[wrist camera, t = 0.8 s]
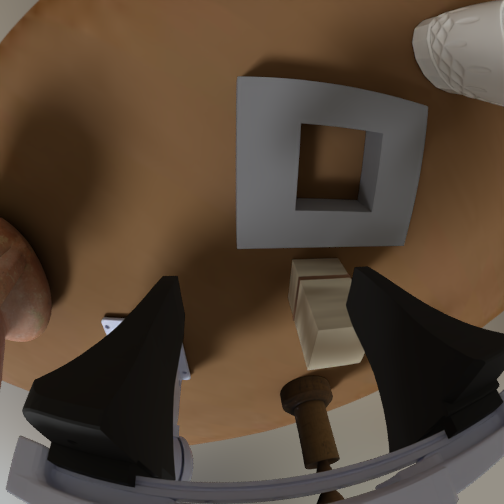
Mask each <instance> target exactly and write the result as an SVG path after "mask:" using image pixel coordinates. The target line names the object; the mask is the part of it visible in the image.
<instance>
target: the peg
mask: <svg viewBox="0 0 504 504" xmlns="http://www.w3.org/2000/svg"><path fill="white" fill-rule="evenodd" d="M351 281H352V280H351V276H350V275H349V274H348V273H347V271H346V270H345V268H344V267H343V265H342V263H341V262H340V260H339V259H338V258H325V259H292V267H291V276H290V285H289V293H288V300H289V304H290V307H291V311H292V314H293V321H295V325H296V329H297V332H298V336H299V339H300V343H301V347H302V351H303V354H304V358H305V362H306V365H307V369H308V370H314V369H322V368H329V367H336V366H343V365H349V364H355V363H360V362H361V360H362V358H363V355H364V353H365V352H364V350H363V347H362V345H361V343H360V341H359V339H358V337H357V335H356V333H355V330H354V328H353V326H352V323H351V320H350V317H349V314H348V311H347V308H346V302H347V298H348V294H349V290H350V286H351Z"/></svg>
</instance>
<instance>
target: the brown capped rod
mask: <svg viewBox="0 0 504 504" xmlns="http://www.w3.org/2000/svg"><path fill="white" fill-rule="evenodd" d="M280 397H281V402H282V407H283V409H284V411H285V412H287V413H289V414H291V415H293V416H295V419H296V424H297V428H298V433H299V438H300V443H301V448H302V454H303V459H304V465H305V468H306V469H316V468H317V472H316V473H319V472H324V471H329V470H332V468H331V467H330V464H333V463H335V462H337V461H338V460H339V459H340V458H339V455H338V451H337V447H336V444H335V441H334V437H333V433H332V430H331V426H330V422H329V419H328V415H327V411H326V407H327V406H328V404H329V403H330V402H331V400H332V398H333V395H332V392H331V389H330V385H329V382H328V381H327V380H326V379H325V378H323V377H320V376H307V377H302V378H299V379H296V380H294V381H291V382H289V383H288V384H286V385H285V386H284V387H283V388H282V390H281V392H280ZM343 499H344V498H343V496H342V495H341V494H340V493H339V492H337V491H336V490H333V491H329V492H324V493H321V494H320V496H319V499H318V502H317V504H328V503H332V502H336V501H339V500H343Z"/></svg>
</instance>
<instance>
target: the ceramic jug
mask: <svg viewBox="0 0 504 504" xmlns="http://www.w3.org/2000/svg"><path fill="white" fill-rule="evenodd" d="M51 309H52V300H51V292H50V288H49V284H48V281H47V278H46V275H45V272H44V270H43V268H42V265H41V263H40V261H39V259H38V257H37V256H36V254H35V252H34V250H33V249H32V247H31V246H30V244H29V243H28V241H27V240H26V239H25V238H24V237H23V236H22V235H21V233H20V232H19V231H18V230H17V229H16V228H15V227H13V226H12V225H11V224H10V223H9V222H7V221H6V220H4V219H3V218H1V217H0V387H1V381H2V369H3V360H4V349H5V339H8V340H12V341H19V342H24V341H30V340H33V339H35V338H37V337H38V336H39V335H41V334H42V333H43V332H44V330H45V329H46V327H47V325H48V323H49V320H50V316H51Z"/></svg>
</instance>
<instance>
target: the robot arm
mask: <svg viewBox="0 0 504 504" xmlns="http://www.w3.org/2000/svg"><path fill="white" fill-rule="evenodd" d="M346 308H347V311H348V314H349V317H350V320H351V323H352V326H353V328H354V330H355V333H356V335H357V337H358V339H359V341H360V343H361V345H362V347H363V350H364V352H365V354H366V356H367V358H368V360H369V362H370V365H371V367H372V370H373V372H374V375H375V379H376V382H377V385H378V389H379V392H380V396H381V401H382V404H383V409H384V414H385V420H386V425H387V433H388V441H389V454H386V455H383V456H380V457H377V458H374V459H370V460H367V461H364V462H360V463H357V464H353V465H349V466H346V467H342V468H337V469H333V470H329V471H324V472H319V473H314V474H309V475H303V476H296V477H290V478H282V479H273V480H263V481H250V482H219V483H218V482H190V481H191V477H192V472H193V455H192V451H191V449H190V447H189V444H188V442H187V441H186V439H185V438H183V437H181V436H179V425H177V422H178V415H179V403H180V393H181V382H182V380H189V379H190V376H191V375H190V371H189V367H188V363H187V359H186V355H185V351H184V347H183V337H184V322H185V313H184V308H183V303H182V297H181V292H180V287H179V281H178V276H163V277H162V278H161V279H160V280H159V281H158V282H157V283H156V285H155V286H154V287H153V288H152V289H151V290H150V292H149V293H148V294H147V295H146V296H145V297H144V299H143V300H142V301H141V302H140V303H139V304H138V305H137V306H136V308H135V309H134V310H133V311H132V312H131V313H130V314H129V315H128V316H127V317H126V318H109V317H104V318H103V319H102V321H101V322H102V325H103V327H104V330H105V332H106V334H107V336H106V337H104V338H103V339H102V340H101V341H99V342H98V343H97V344H95V345H94V346H93V347H91V348H90V349H89V350H87V351H86V352H84V353H83V354H82V355H80V356H79V357H77V358H75V359H74V360H72V361H71V362H69V363H67V364H65V365H64V366H62V367H60V368H58V369H56V370H54V371H52V372H50V373H48V374H46V375H44V376H42V377H40V378H38V379H35V380H34V382H33V385H32V387H31V389H30V392H29V394H28V397H27V399H26V402H25V404H24V407H23V410H22V411H23V415H24V417H25V418H26V420H27V421H28V422H29V423H30V424H31V425H32V426H33V427H34V428H36V429H37V430H38V431H39V432H40V433H42V435H44V436H45V437H46V438H47V439H49V440H50V441H51V446H50V449H49V448H48V447H46V446H44V445H42V444H40V443H37V442H35V441H33V440H30V439H28V438H25V437H23V436H19V438H18V442H17V445H16V449H15V452H14V456H13V459H12V463H11V467H10V472H9V476H8V481H7V486H6V490H7V492H9V493H10V494H12V495H14V496H15V497H17V498H19V499H21V500H22V501H24V502H26V503H27V504H191V503H214V504H215V503H216V504H228V503H253V502H265V501H275V500H283V499H291V498H298V497H303V496H309V495H315V494H320V493H324V492H329V491H333V490H337V489H341V488H345V487H348V486H352V485H356V484H359V483H362V482H366V481H368V480H372V479H375V478H378V477H381V476H384V475H386V474H389V473H392V472H394V471H397V470H400V469H402V468H404V467H407V466H409V465H412V464H414V463H416V462H417V463H416V464H414V465H412V466H410V467H408V468H406V469H404V470H402V471H400V472H398V473H397V474H396V475H395V476H393V477H392V478H390V479H389V480H387V481H385V482H383V483H381V484H379V485H377V486H376V488H375V489H376V490H374V491H370V492H367V493H364V494H361V495H358V496H354V497H351V498H347V499H343V500H339V501H336V502H332V503H328V504H456V503H457V502H458V500H459V499H458V496H457V494H458V493H460V492H461V491H462V490H464V489H465V488H466V487H468V486H469V485H470V484H472V483H473V482H474V481H476V480H477V479H478V478H479V477H481V476H482V475H483V474H484V473H485V472H487V471H488V470H489V469H490V468H491V467H492V466H493V465H495V464H496V463H497V462H498V461H499V460H500V459H501V458H502V457H503V456H504V390H503V391H502V392H501V393H498V391H497V390H496V389H497V388H498V387H499V383H498V381H497V378H498V377H499V376H500V374H501V373H502V372H503V371H504V334H503V333H499V332H494V331H490V330H486V329H483V328H479V327H476V326H473V325H470V324H468V323H465V322H462V321H460V320H458V319H455V318H453V317H451V316H448V315H446V314H444V313H442V312H440V311H438V310H436V309H434V308H433V307H431V306H429V305H427V304H425V303H424V302H422V301H421V300H419V299H417V298H416V297H414V296H412V295H411V294H409V293H408V292H406V291H405V290H403V289H402V288H400V287H399V286H397V285H396V284H394V283H393V282H391V281H390V280H388V279H387V278H385V277H384V276H382V275H381V274H379V273H378V272H376V271H375V270H373V269H371V268H369V267H355V268H354V273H353V277H352V281H351V286H350V290H349V294H348V298H347V302H346ZM107 325H108V326H107ZM183 502H190V503H183Z"/></svg>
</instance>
